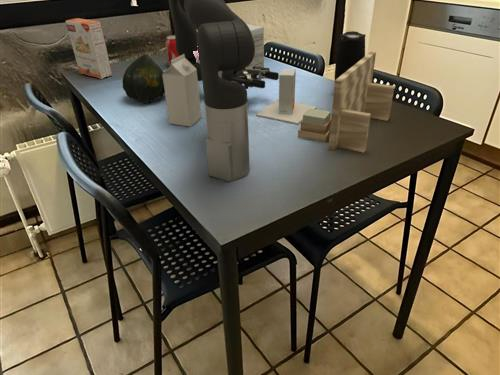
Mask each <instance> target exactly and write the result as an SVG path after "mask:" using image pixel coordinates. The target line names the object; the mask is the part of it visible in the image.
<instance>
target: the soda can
mask: <svg viewBox="0 0 500 375" xmlns="http://www.w3.org/2000/svg"><path fill="white" fill-rule="evenodd" d="M165 46H166V47H165V48H166V50H165V51H166V56H167V63H168V65H169V66H168V67H170V66H171V60H173V59H175V58H177V57H179V55H178V53H177V51H176V42H175V34H174V35H173V34H172V35H168V36H166V40H165Z"/></svg>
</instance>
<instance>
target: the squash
mask: <svg viewBox="0 0 500 375" xmlns="http://www.w3.org/2000/svg"><path fill="white" fill-rule="evenodd" d="M164 72H165V71H163V69H162V68H161V67H160V66H159V64H157V63H156V61H154V60H153V59H152V58H151V57H150V56H149V55H148V54H143V55H141V56H139V57H138V58H137V59H135V60H133V61H132V62H131V63H130V65H128V67H127V68H126V69H125V71H124V74H123V77H122V89H123V90H124V92H125V94H126V96H127V97H129V99H134V100H139V101H140V102H141V103H142V104H147V103H148V102H149V101H150V102H156V100H158V99H159V98H161V97H163V96H164V95H165V89H164V82H163V75H162V74H163V73H164Z"/></svg>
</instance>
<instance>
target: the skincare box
mask: <svg viewBox="0 0 500 375" xmlns="http://www.w3.org/2000/svg"><path fill="white" fill-rule="evenodd" d="M296 72H297V71H296V69H291V68H290V69H289V68H283V69H281V71H280V73H279V79H278V80H279V81H278V100H279V113H281V114H292V112H293V109H294V103H296V101H295V97H296V78H297V77H296V75H297V74H296Z"/></svg>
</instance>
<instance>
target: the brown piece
mask: <svg viewBox="0 0 500 375" xmlns="http://www.w3.org/2000/svg"><path fill="white" fill-rule="evenodd" d="M376 56H377V52H376V51H370V52H369V53H367V54H365V57H364V58H362V59H361V60H360V61H359V62H357V63H356V64H355V65H354V66H352V67H351V68H350V69H349V70H347V71H346V72H345V73H344V74H342V75H341V76H340V77H339V78H337V79H336V80H335V79H334V86H333V96H332V98H333V99H332V107H331V110H332V111H331V117H330V118H331V129H330V138H329V139H328V140H329V142H328V150H331V151H335V150H336V149H337V148H341V149H345V150H348V151H349V150H351V151H355V152H359V153H362V154H364V153H365V152H366V150H367V143H368V136H369V131H370V130H369V129H370V124H371V119H374V120H380V121H385V122H389V119H390V114H391V108H392V103H393V97H394V93H395V92H394V91H395V86H396V85H391V84H384V83H377V82H373V76H374V69H375V62H376Z"/></svg>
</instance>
